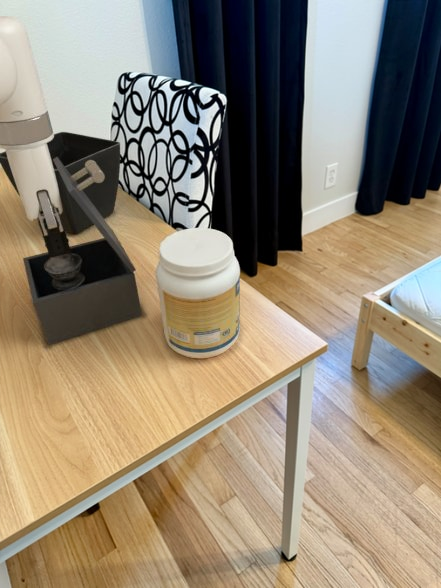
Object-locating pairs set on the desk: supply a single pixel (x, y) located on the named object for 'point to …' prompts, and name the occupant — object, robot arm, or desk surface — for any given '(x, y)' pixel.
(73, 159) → the flower pot
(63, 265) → the chess piece
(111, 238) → the lid
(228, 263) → the supplement tub
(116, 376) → the desk surface
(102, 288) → the chest
